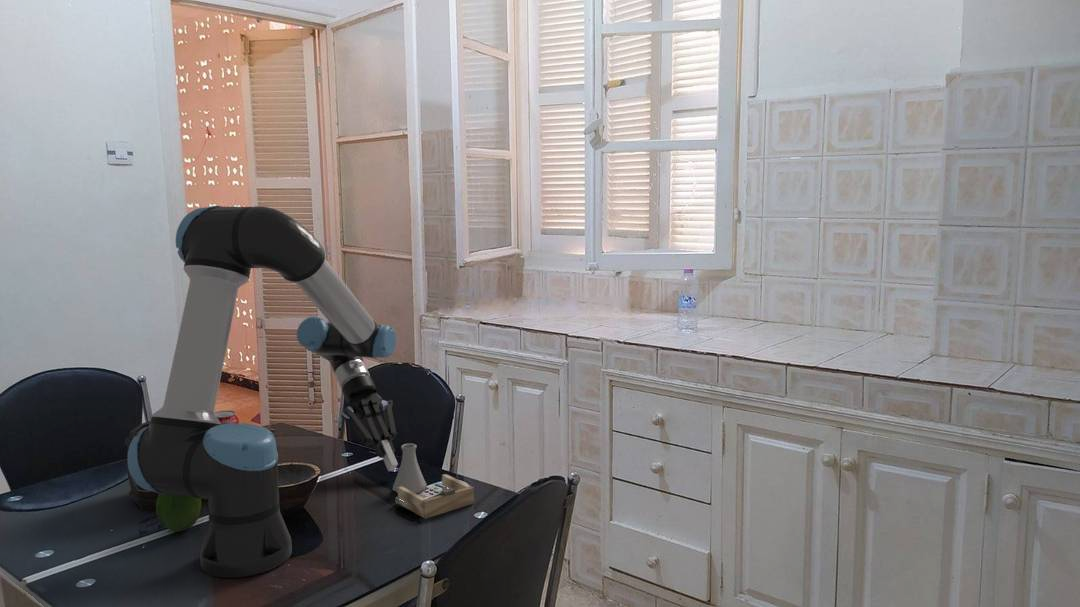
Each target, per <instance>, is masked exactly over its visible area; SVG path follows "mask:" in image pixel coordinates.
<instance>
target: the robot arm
mask: <svg viewBox="0 0 1080 607" xmlns="http://www.w3.org/2000/svg"><path fill="white" fill-rule="evenodd" d="M175 248H177V249H178V250H177V254H178V256H179V258H180V259H181V261H182V262H183V263H184V265H183V271H184V273H185V274H186V275H187V277H188V278H189V284H188V289H187V293H186V298H185V303H184V307H183V312H182V317H181V322H180V326H179V329H178V330H179V332H178V336H177V340H176V344H175V349H174V354H173V358H172V364H171V368H170V372H169V377H168V381H167V386H166V391H165V395H164V396H165V397H164V401H163V405H162V406H161V408H160V409H158V410H156V411H155V412H154V413H152V414H151V417H150V426H148V427H145V428H143V429H142V430H140V431H139V432H138V435H137V436H135V437H134V438H133V440H132V442H131V444H130V447H129V451H128V468H129V471H130V474H131V476H132V478H134V480H135V482H136V484H137V485H139V486H140V487H141V488H143V489H145V490H148V491H153V492H156V493H158V494H162V495H168V494H170V495H178V496H186V497H194V498H201V499H207V500H206V501H207V509H208V524H207V528H206V531H205V535H204V538H203V542H202V546H201V549H200V551H199V553H200V554H199V555H200V557H199V558H200V568H201V570H202V571H203V572H204V573H206V574H207V575H209V576H211V577H216V578H217V577H218V578H222V579H225V578H226V579H228V578H229V579H234V578H243V577H250V576H254V575H255V576H256V575H258V574H263V573H265V572H268V571H271V570H273V569H276V568H278V567H279V566H281V565H282V564H284V563H286V562H287V560H288V559H289V558H290V557H291V555H292V553H293V547H292V545H293V544H292V537H291V535H290V533H289V530H288V528H287V525H286V523H285V520H284V518H283V516H282V514H281V510H280V509H281V508H280V489H279V488H280V487H279V465H278V464H279V463H278V461H279V454H278V450H277V441H276V438H275V435H274V433H273V432H271V431H270V430H269V429H268V428H266V427H264V426H262V425H258V424H253V423H247V422H245V423H244V422H239V424H234V423H228V424H222V425H220V424H221V422H220V421H219V420H218V418H217V417H216V416H215V414H214V412H215V409H216V403H217V398H218V393H219V388H220V384H221V383H220V382H221V378H222V373H223V370H224V369H223V368H224V363H225V357H226V352H227V347H228V343H229V338H230V332H231V328H232V323H233V317H234V313H235V307H236V302H237V297H238V293H239V289H240V288H241V287H242V286H243V285H245V284H247V283H249V281H250V280H249V279H250V274H251V270H252V269H267V270H270V271H274V272H277V273H278V274H279V275H280V276H281V277H283V279H284V280H285V281H288V282H290V283H295V284H296V286H297V287H298V288H299V289H300V290H301V291H302V293H304V294H305V296H306V297H307V298H308V299H309V300H310V302H312V304H313V305H314V306H315V307H316V308H317V310H318V311H319V312H321V314H322V315H323V316H324V317H325V318H326V319H327V321H326V320H325V319H323V318H320V317H317V316H310V317H307V318H305V319H303V321H301V322H300V324H299V326H298V327H297V330H296V339H297V342H298V343H299V344H300V345H301V346H302V347H303V348H305V349H306V350H307V351H309V352H312V353H314V354H315V355H318V356H319V357H321V358H323V359H324V360H327V361H328V362H329V364H330V366H331V369H332V370H333V373H334V375H335V377H336V380H337V382H338V385H339V388H340V389H341V392H342V395H343V397H344V400H345V401H346V403H347V407H345V408H344V409H343V411H342V412H341V415H340V417H341V419H343V420H345V421H346V422H347V423H348V424H349V425H350V426H351V428H352V429H353V431H354V433H356V435H357V437H358V438H359V439H360V441H361V442H362V444H363V445H364V446H365V447H369V446H371V448H372V449H374V450H375V452H376V454H377V457H379V459H381V458H382V459H383V462H384V464H385V467H386V470H387V471H388V472H390V471H395V469H396V468H397V467H398V465H399V463H398V460H397V458H396V456H395V453H396V449H395V445H394V443H393V442H392V441H393V440H394V438H395V437H396V436H397V428H396V423H395V419H394V414H393V413H394V412H393V405H394V404H393V403H394V402H393V400H392V399H389V400H385V399H383V398H382V396H381V395H379V394H378V390H377V387H376V385H375V383H374V381H373V379H372V377H371V375H370V372H369V369H368V368H367V365H366V364H365V360H364V358H372V359H379V358H380V359H387V358H389V357H391V356H392V355H393V353H394V352H395V348H396V346H397V334H396V331H395V329H394V328H393V327H392V326H391V325H390V326H389V325H385V324H383V323H382V324H378V323H377V321H375V320H374V318H373V317H372V316H371V315H370V313H369V312H368V311H367V310H366V309H365V307H364V306H363V304H362V303H361V302H360V301H359V299H358V298H357V297H356V296H355V295H354V293H353V292H352V290H351V289H350V288H349V287H348V286H347V284H346V283H345V282H344V281H343V280H342V278H341V276H339V274H338V273H337V271H336V270H335V269H334V268H333V267H332V265H331V264H330V263H329V262H328V260H327V259H326V257H327V255H326V254H327V252H326V250H325V248H324V247H323V245H322V244H321V243H320V241H319V240H318V239H317V238H316V237H315V236H314V234H313V233H311V232H310V231H309V230H308V229H307V228H306V227H305V226H303V225H302V224H301V223H300V222H298V221H297V220H296V219H294V218H293V217H291V216H289V215H288V214H286V213H284V212H282V211H280V210H278V209H275V208H271V207H269V206H261V205H258V206H256V205H255V206H221V205H212V206H207V207H206V206H205V207H198V208H196V209H194V210H192V211H189V213H187V214H186V215H185V216H184V217H183V218H182V220H181V221H180V223H179V225H178V227H177V230H176V234H175ZM380 408H382V411H383V416H382V415H381V414H382V412H381V410H380ZM128 468H127V469H128Z"/></svg>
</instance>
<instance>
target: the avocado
mask: <svg viewBox="0 0 1080 607" xmlns="http://www.w3.org/2000/svg"><path fill="white" fill-rule="evenodd" d="M201 509H202V502H201V498H194V497H186V496H178V495H170V494H168V495H162V494H159V495H158V498H157V501H156V511H155V514H156V515H157V517H158V519H159V521H160V523H161V525H162V526H163V527H165V528H166V529H167V530H169V531H172V532H178V533H179V532H186V531H187V530H188V529H190V528H191V527H193V526H194V525H195V524H196V523H197V521H198V520H199V517H200V515H201Z"/></svg>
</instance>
